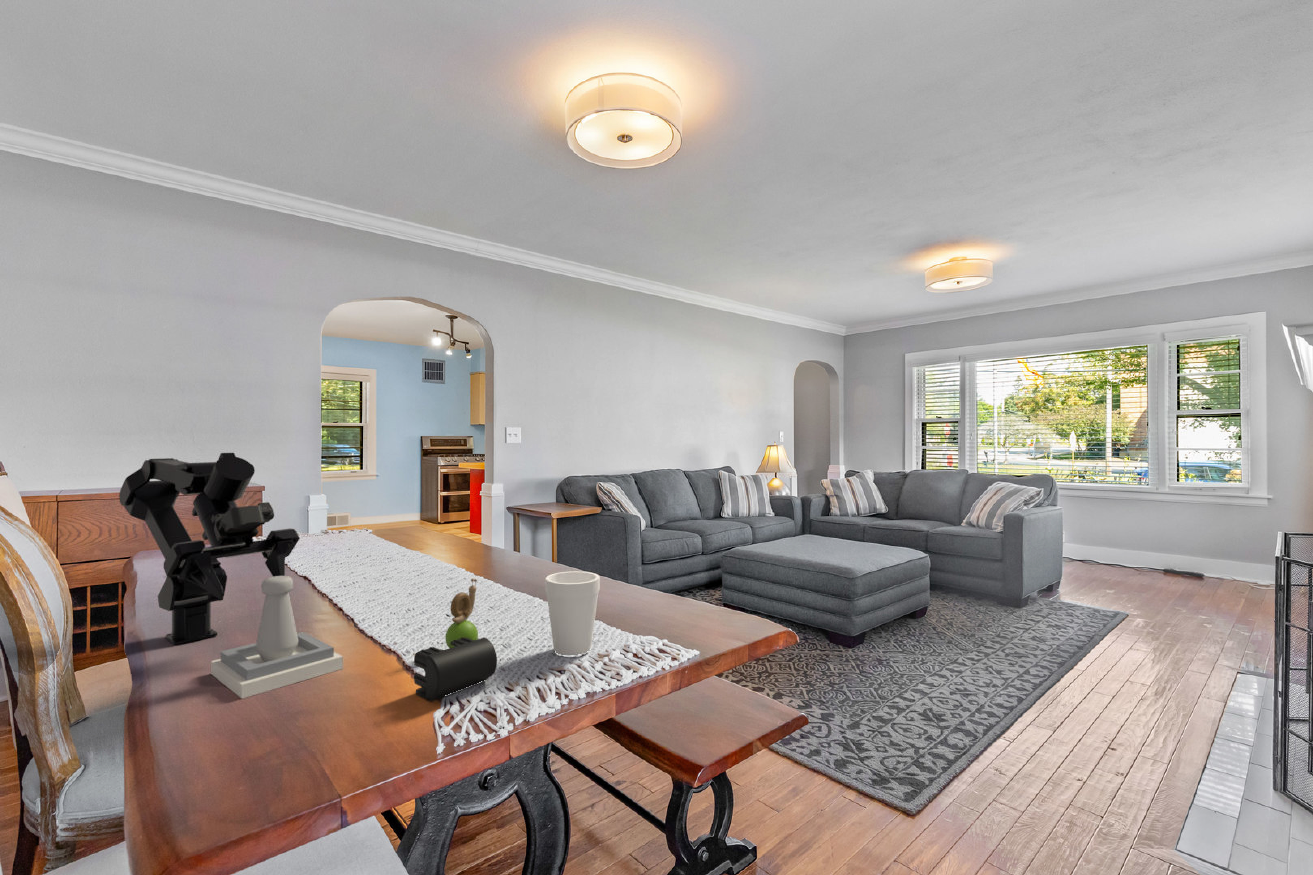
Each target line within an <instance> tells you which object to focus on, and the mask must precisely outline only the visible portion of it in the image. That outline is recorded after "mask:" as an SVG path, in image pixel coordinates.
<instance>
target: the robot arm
mask: <svg viewBox="0 0 1313 875" xmlns="http://www.w3.org/2000/svg"><path fill="white" fill-rule="evenodd" d="M254 475H255V466H254V465H253V464H252V463H251V462H249V461H247V460H246V459H244V458H242V457H237V456H236V454H235V452H220V454H219V456H218V459H217V460H216V461H212V462H211V461H210V462H187V461H182V460H178V459H176V458H173V457H172V458H170V457H169V458H167V457H166V458H149V459H145V460H144V461H143V463H142V465H141V467H140V468H139V469H138V470H135V471H134V472H133V473H131V474H130V475H128V476H127V477H125V479H124V481H123V482H122V486H121V488H120V491H119V496H118V497H119V503H120V505H121V506H122V507H123V508H124V509H125V510H126V512H127V513H128V514H129V516H131V517H133V518H136V519H139V520H141V521H144V522H145V524H146V526H147V527H148V529H149V531H150V533H151V535H152V537H153V539H154V541H155V542H156V544H157V546H158V548H159V550H160V552H161V555H162V556H163V558H164V561H163V569H164V573H165V575H166V578H165V581H164V583H163V584H162V586H161V589H160V591H159V593H158V595H157V600H158V607H159V609H160V608H161V609H162V610H165V611H168V612H171V633H166V634H165V638H166V639H167V641H169V642H170V643H172V644H173V645H181V644H184V643H190V642H193V641H198V640H202V639H208V638H212V637H216V636H218V632H217V631H216V630H214V629H213V628H211V627H212V626H211V623H212V620H211V619H212V612H211V611H212V610H211V609H212V603H213V602H218V601H219V602H220V601H221V602H222V601H223V600H224V597H225V593H226V592H225V591H226V587H227V582H228V575H227V572H226V570H225V569H224V568H223V567H222V566H221V561H219V560H218V559H222V558H226V559H227V558H233V557H239V556H240V557H241V556H245V555H252V554H259V553H260V554H262V557H263V559H266V560H265V561H264V565H265V566H266V567H267V569H268V570H269V572H270V574H271V577H275V576H286V574H285V573H286V572H285V569H286V568H285V567H286V566H285V565H286V558H288V557H289V556H290V555H291V553H292V552H293V550H294V548H295V547H296V546H297V543H298V542H299V540H300V535H299V533H298V531H297V530H296V529H295V528H285V529H284V528H283V529H277V530H276V529H275V530H271V531H270V532H269V534H268V535H267V537H266V538H265V539H261V540H254V539H253V537H257V535H258V534H259V530H258V528H259V527H260V526H263V525H265V524H266V523H269V522H270V521H272V520H273V519H274V518H275V512H274V508H273V507H272V505H271V504H270V502H268V501H266V502H258V503H257V505H248V506H247V505H246V506H238V505H237V503H236V501H237V500H239V499H241V498H242V497H243V495H244V494H245V492H246V490H247V487H248V486H249V484H250V482H251V480H252V478H253V477H254ZM180 494H182V495H183V496H190V495H193V496H194V495H196V496H195V498H194V500H193V502H192V505H193V509H191V510H192V513H191V514H192V517H198V519H199V522H200V523H201V527H202V528H203V529H202V530H204V531H203V533H202V535H201V537H202V539H203V540H201V539H198V540H192V538H191V537H190V536H191V535H190V534H189V533H188V531H187V529H186V527H185V526H184V524H183V522H182V521H181V519H180V517H179V515H178V513H177V512H176V510H175V505H176V501H177V500H178V497H179V495H180ZM206 540H207V541H208V542H209V545H210V546H206V544H205V542H204V541H206Z"/></svg>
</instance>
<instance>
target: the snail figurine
mask: <svg viewBox="0 0 1313 875" xmlns="http://www.w3.org/2000/svg"><path fill="white" fill-rule="evenodd" d="M470 581H471V582H472V584H471V585H470V586H469V587H468V593H469V594H468V593H466V592H458V593H457V594H456V595H454V597H453V598H452V600H451V602H450V613H451V615H452V616H453V618H452V619H451V621H452V622H453V623H451V624H450V625H449V627H448V628H447V630H446V632H445V638H444V640H445V643H446V645H447V647H448V649H449V648H452V647H456V646H453V645H450V642H451V641H454V640H458V639H461V638H462V637H463V638H464V637H466V638H469V639H471V640H474V641H475V640H478V639H479V631H478V628H477V627H476V625H475V623H473V622H472V621H470V620H468V619H469V617H470V616H471V615H472V613H473V611H474V606H475V601H476V592H477V586H476V585H477V582H478V579H477V578H471V579H470ZM473 582H475V585H473V584H474V583H473Z"/></svg>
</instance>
